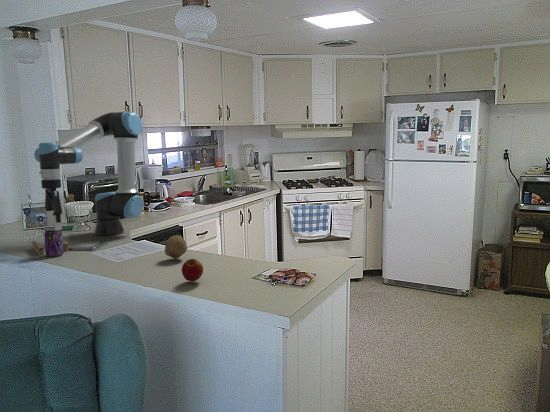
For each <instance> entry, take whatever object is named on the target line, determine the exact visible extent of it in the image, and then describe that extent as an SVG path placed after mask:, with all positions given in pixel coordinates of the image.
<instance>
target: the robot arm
mask: <svg viewBox="0 0 550 412" xmlns="http://www.w3.org/2000/svg"><path fill="white" fill-rule="evenodd" d="M142 131H143V122H142V119H141V117H139V115H138V114H137V113H135V112H133V111H117V112H116V111H115V112H108V113H105V114H102V115H100V116H98V117H96V118H93V119H92V120H90V121H89V122H88V124H87V125H85V126H83V127H81V128H79V129H77V130H76V131H74V132H72V133H70V134H68V135H65V136H64V137H62V138H59V139H58V140H57V141H53V142H40V143H38V147H37V148H36V149H35V151H34V154H33V155H34V159H35V160H36V161H37V162H38V163H39V169H40V171H39V172H38V174H39V175H40V178H41V181H40V183H41V184H40V185H41V188H42V189H44V191H45V193H44V194H45V195H44V196H45V197H44V199H45V201H44V208H45V212H46V223H47V226H48V227H50V226H54V227H55V231H56V230H61V231H62V230H63V223H62V214H63V209H62V204H61V199H60V192H59V190H57V189H60V188H61V187H62V180H61V179H60V178H61V168H60V167H61V166H60V165H71V164H72V165H73V164H75V165H76V164H79V163H81V162H82V160H83V158H84V153H83V151H82V148H81V147H83V146H85V145H87V144H89V143H91V142H92V141H94V140H95V139H102V138H104V137H109V136H113V139H114V140H115V141H116V145H117V146H116V147H117V148H116V149H117V151H116V152H117V186H118V187H117V189H116V190H115V191H109V192H103V193H97V194H96V195H95V201H94V204H95V214H96V224H95V228H94V231H93V232H94V233H93V234H94V236H95V237H115V236H119V235H122V234H124V233H125V229H124V227H123V224H122V221H121V218H127V219H131V218H132V219H135V218H137V217H139V216H140V215H141V213H142V212H143V210H144V206H145V202H144V199H143V197H142V196H141V195H139V193H140V192H139V190H138V189H137V188H136V148H135V147H136V146H135V145H136V143H135V142H136V141H137V140H138V136H139V135H140V134H141V132H142Z"/></svg>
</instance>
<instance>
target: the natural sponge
mask: <svg viewBox="0 0 550 412" xmlns="http://www.w3.org/2000/svg"><path fill="white" fill-rule="evenodd" d="M187 250H188V246H187V242H186V240H185V238H183V237H182V236H181V235H172V236H170V237H169V238H168V239H167V240H166V243H165V247H164V253H165V255H166V256H168V257H170V258H172V259H179V258H180V257H181V256H182V255H184V254H185V253H186V252H187Z"/></svg>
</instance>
